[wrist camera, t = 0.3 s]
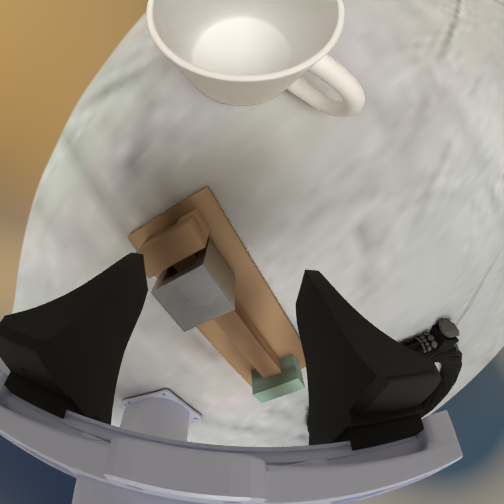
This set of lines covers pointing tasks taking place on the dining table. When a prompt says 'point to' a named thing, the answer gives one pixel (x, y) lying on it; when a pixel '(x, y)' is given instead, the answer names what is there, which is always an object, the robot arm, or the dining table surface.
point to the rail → (246, 295)
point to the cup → (256, 49)
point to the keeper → (197, 289)
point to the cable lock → (438, 359)
